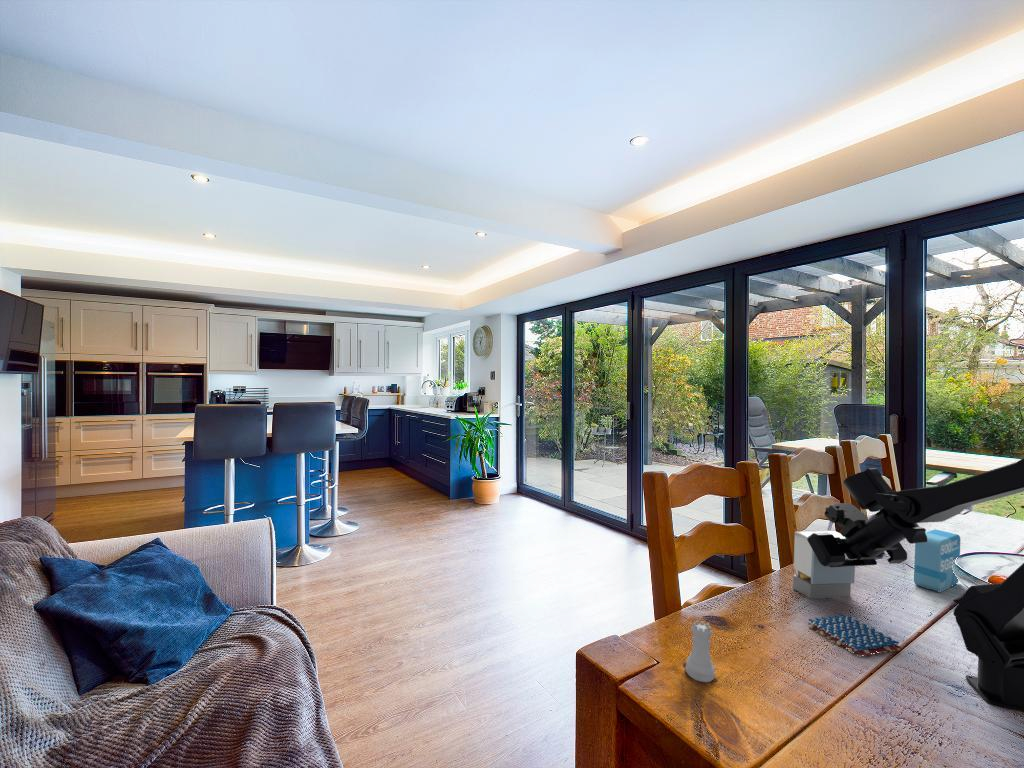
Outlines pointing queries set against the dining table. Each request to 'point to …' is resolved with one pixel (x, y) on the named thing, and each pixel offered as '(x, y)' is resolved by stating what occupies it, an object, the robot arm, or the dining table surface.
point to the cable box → (804, 570)
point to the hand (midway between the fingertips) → (831, 564)
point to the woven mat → (854, 635)
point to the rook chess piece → (700, 654)
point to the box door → (830, 573)
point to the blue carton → (936, 560)
